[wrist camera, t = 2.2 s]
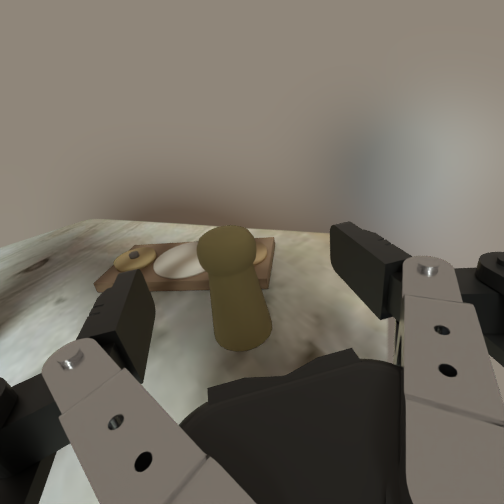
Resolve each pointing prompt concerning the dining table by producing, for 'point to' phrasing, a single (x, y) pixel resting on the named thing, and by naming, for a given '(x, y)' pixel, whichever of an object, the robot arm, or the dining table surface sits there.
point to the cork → (234, 288)
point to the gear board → (178, 266)
